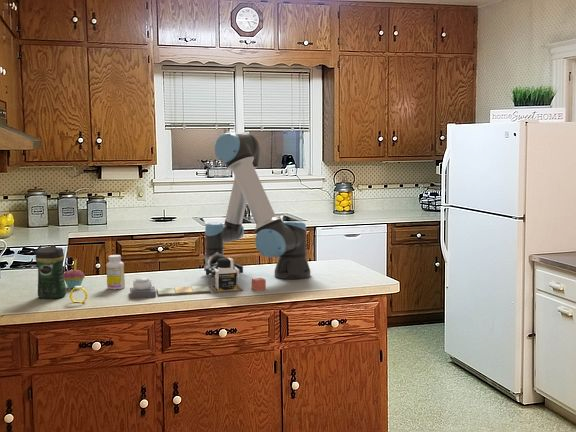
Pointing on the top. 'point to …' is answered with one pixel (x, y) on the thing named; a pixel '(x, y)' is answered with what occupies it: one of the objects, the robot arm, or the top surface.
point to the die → (258, 284)
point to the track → (183, 290)
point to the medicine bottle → (226, 275)
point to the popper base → (142, 293)
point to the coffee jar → (50, 272)
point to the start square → (225, 291)
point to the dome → (142, 284)
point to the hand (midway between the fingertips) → (228, 274)
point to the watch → (81, 289)
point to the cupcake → (73, 277)
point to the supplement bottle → (115, 272)
